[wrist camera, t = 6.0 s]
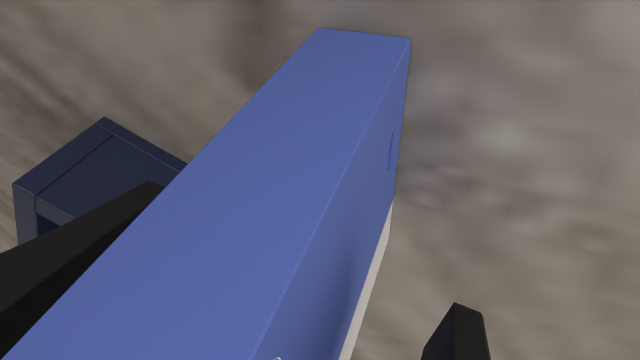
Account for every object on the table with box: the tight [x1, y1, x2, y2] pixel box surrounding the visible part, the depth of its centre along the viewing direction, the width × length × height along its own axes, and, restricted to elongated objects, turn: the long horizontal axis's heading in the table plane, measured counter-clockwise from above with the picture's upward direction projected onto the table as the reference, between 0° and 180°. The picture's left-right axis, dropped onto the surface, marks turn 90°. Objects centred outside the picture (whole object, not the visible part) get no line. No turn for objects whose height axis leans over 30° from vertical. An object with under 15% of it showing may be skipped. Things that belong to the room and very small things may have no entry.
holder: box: [12, 117, 188, 245], centre depth 21 cm, size 7×12×5 cm, turn 157°
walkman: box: [1, 28, 412, 360], centre depth 11 cm, size 8×3×12 cm, turn 1°
